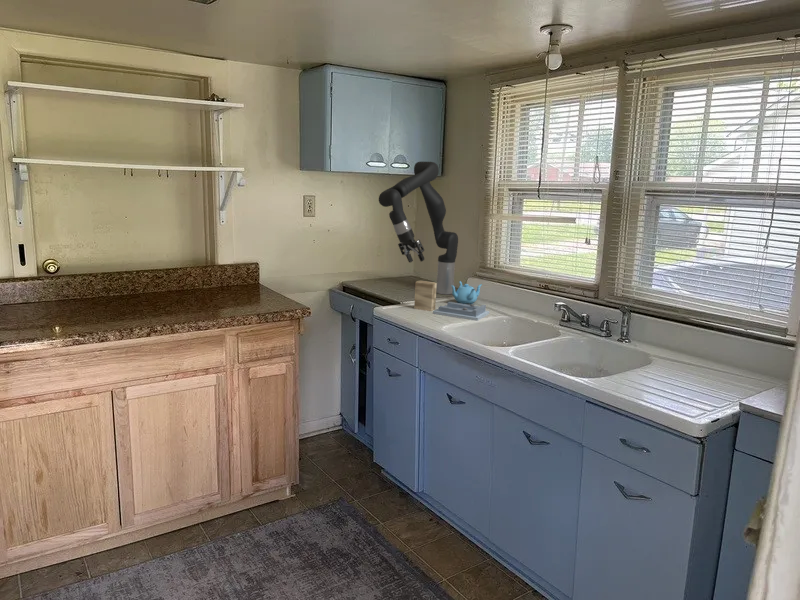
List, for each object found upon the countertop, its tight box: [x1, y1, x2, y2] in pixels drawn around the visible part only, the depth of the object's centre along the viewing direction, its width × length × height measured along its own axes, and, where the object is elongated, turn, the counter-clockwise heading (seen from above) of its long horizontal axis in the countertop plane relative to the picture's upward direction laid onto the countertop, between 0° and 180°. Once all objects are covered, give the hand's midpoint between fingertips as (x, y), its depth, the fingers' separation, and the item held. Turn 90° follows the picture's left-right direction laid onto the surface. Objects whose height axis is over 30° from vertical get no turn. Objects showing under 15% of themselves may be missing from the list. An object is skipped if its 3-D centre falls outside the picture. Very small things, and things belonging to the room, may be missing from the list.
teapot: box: [451, 280, 483, 305], centre depth 296 cm, size 13×13×10 cm
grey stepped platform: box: [432, 301, 490, 322], centre depth 276 cm, size 16×22×4 cm
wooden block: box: [413, 280, 437, 312], centre depth 281 cm, size 4×9×13 cm, turn 63°
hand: (416, 261), depth 280 cm, fingers open, 8 cm apart
